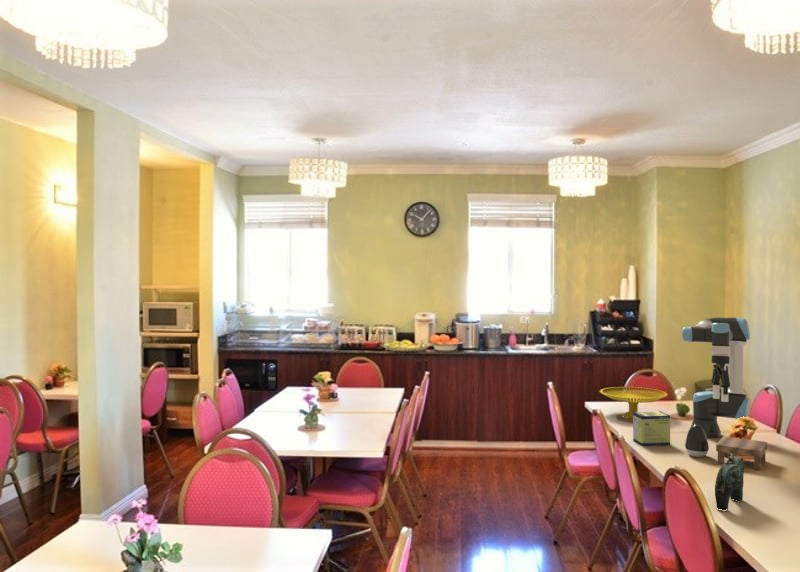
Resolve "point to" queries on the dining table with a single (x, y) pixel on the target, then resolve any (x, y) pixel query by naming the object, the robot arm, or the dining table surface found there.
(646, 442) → the protein box
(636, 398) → the cake stand
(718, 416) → the robot arm
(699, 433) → the dark grey egg shape
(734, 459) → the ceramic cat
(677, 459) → the dining table surface
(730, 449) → the walnut footstool
